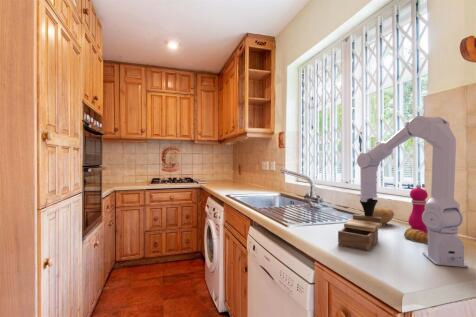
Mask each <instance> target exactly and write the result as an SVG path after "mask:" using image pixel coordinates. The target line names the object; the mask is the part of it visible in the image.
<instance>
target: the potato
mask: <svg viewBox="0 0 476 317" xmlns="http://www.w3.org/2000/svg"><path fill="white" fill-rule="evenodd" d="M364 216H365V214H364ZM394 216H395V214H394V211H393V210H392V209H391V208H389V207H381V206H380V207H379V206H378V207H377V206H375V208H374V212H373V216H372V217H380V218H382V225H381V226H384V225H386V224H388V223H389V222H390V221H391V220H393V218H394Z"/></svg>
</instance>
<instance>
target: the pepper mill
mask: <svg viewBox="0 0 476 317" xmlns="http://www.w3.org/2000/svg"><path fill="white" fill-rule="evenodd" d="M428 195H429V194H428V192H427V190H426V189H424V188H422V185H421V184H419V183H418V184H416V185H415V187H414V188H412V189H411V190H410V192H409V197H410V198H411V204H412V210H411V212H410V215H409V216H408V225H409V226H410V228H412V229H414V230H421V231H423V232H425V233H427V234H428V229H427V227H426V226H425V224H424V223H423V221H422V214H423V212H424V210H425V207H426V203H427V200H426V199H427V198H428V197H429V196H428Z"/></svg>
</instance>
